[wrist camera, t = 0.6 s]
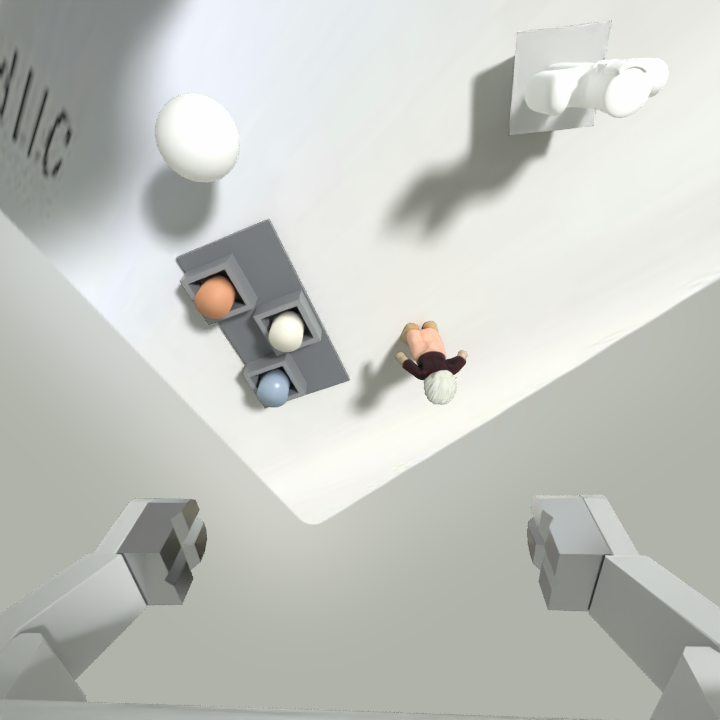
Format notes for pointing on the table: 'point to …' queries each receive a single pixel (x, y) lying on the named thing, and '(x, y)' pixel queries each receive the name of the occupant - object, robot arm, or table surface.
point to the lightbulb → (197, 137)
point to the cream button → (286, 331)
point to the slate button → (273, 388)
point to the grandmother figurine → (431, 362)
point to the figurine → (576, 79)
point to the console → (265, 308)
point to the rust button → (215, 297)
